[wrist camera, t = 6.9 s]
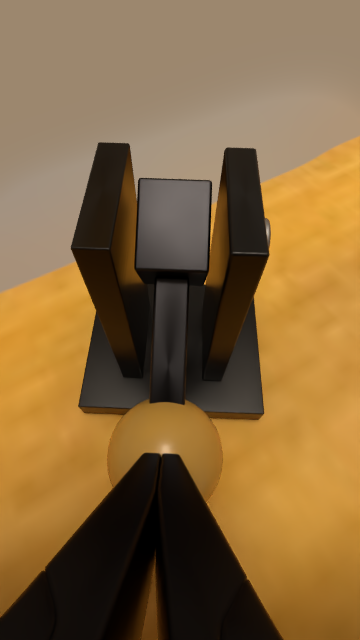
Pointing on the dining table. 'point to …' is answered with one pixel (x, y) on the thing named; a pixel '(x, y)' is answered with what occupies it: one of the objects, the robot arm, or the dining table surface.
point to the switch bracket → (204, 301)
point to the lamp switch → (170, 332)
